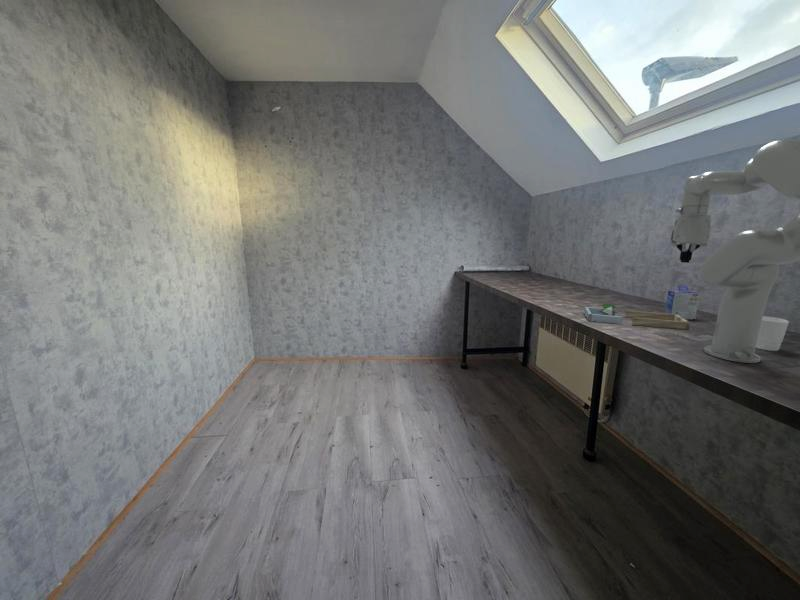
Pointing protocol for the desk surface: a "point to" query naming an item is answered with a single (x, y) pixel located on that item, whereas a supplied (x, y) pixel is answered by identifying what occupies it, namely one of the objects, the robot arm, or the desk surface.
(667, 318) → the wooden tray
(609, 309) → the geometric puzzle
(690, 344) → the desk surface
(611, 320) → the bay
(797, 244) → the robot arm
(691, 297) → the ink cartridge box
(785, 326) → the white cup
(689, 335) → the desk surface
